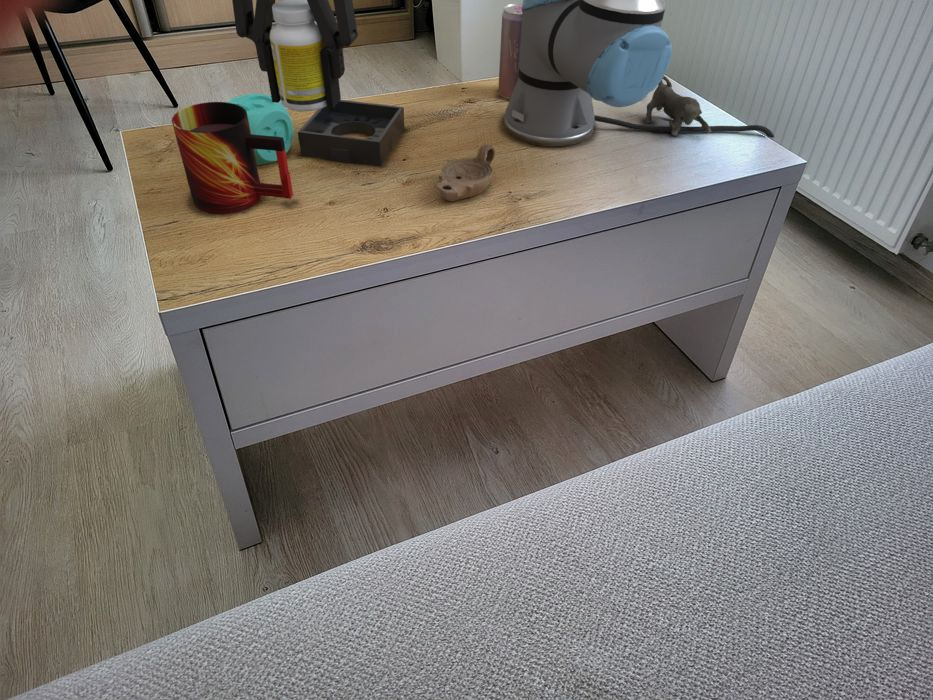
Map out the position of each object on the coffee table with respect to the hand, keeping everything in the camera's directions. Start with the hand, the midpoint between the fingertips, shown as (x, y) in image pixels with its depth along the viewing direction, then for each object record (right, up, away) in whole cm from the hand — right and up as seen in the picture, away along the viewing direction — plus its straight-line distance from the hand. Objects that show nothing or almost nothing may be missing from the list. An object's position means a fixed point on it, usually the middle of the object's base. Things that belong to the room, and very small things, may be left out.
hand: (306, 100), depth 86 cm
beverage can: (+28, +17, +46) cm, 57 cm away
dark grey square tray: (+1, +4, +31) cm, 31 cm away
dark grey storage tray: (+1, +4, +31) cm, 31 cm away
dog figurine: (+55, +8, +37) cm, 67 cm away
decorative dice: (-13, +1, +27) cm, 30 cm away
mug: (-13, -8, +18) cm, 23 cm away
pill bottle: (0, 0, 0) cm, 1 cm away
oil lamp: (+19, -6, +20) cm, 29 cm away
